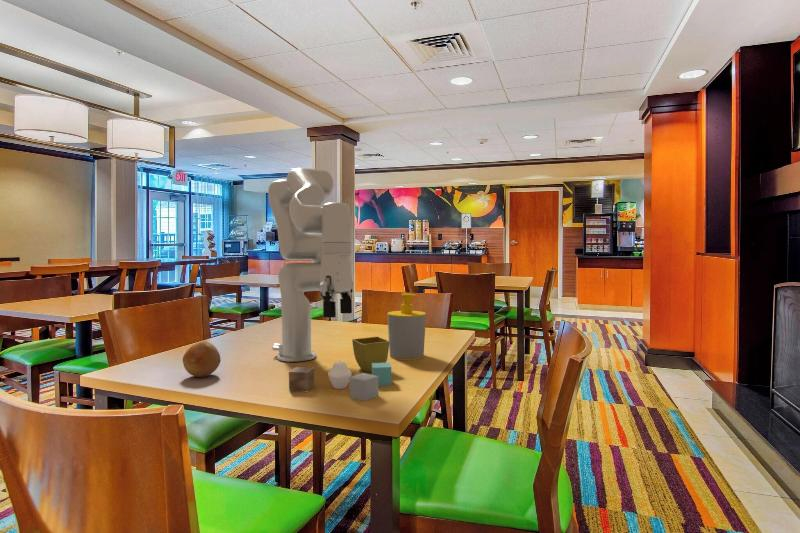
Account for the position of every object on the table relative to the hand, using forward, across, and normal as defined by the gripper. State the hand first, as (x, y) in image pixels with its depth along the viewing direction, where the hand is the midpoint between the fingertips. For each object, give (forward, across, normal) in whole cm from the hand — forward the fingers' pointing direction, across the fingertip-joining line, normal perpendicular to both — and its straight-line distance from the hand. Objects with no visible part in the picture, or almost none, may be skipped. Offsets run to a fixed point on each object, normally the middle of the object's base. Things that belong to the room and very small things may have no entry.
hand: (338, 315), depth 122 cm
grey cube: (+20, +5, +9) cm, 22 cm away
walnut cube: (+19, +4, -9) cm, 21 cm away
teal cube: (+19, -7, +9) cm, 22 cm away
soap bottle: (+18, -39, +6) cm, 44 cm away
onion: (+18, +3, -42) cm, 46 cm away
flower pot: (+19, -19, +1) cm, 27 cm away
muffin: (+19, 0, 0) cm, 19 cm away
